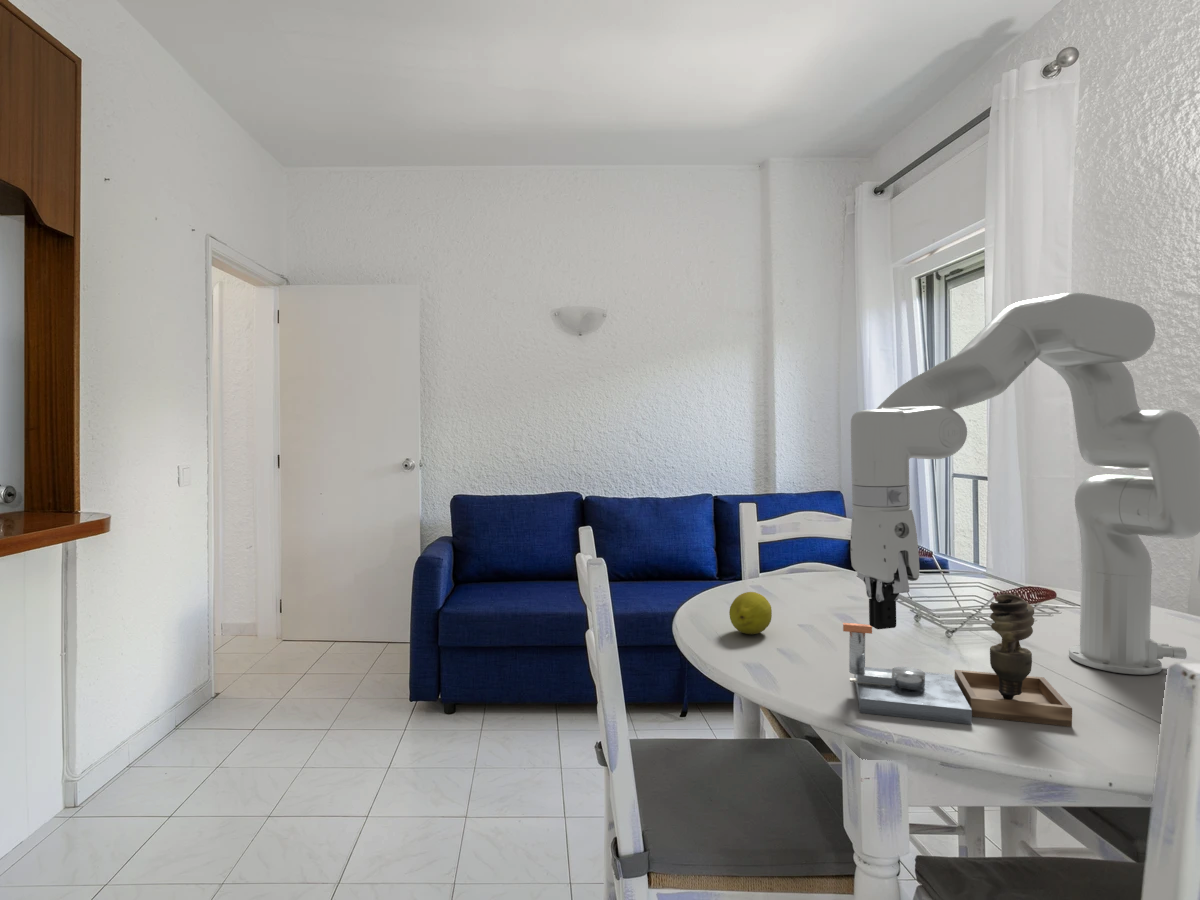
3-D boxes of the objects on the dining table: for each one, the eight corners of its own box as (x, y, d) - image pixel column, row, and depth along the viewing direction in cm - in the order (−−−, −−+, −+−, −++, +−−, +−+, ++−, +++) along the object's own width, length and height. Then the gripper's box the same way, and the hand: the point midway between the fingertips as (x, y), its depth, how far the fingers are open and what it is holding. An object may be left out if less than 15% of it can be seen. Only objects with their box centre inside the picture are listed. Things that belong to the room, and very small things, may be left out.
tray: (1043, 694, 104) (1043, 677, 104) (1071, 726, 93) (1072, 708, 93) (954, 685, 108) (954, 669, 108) (971, 716, 97) (971, 698, 96)
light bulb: (993, 688, 104) (994, 588, 104) (1036, 697, 101) (1037, 593, 101) (985, 700, 100) (986, 595, 100) (1029, 709, 97) (1031, 601, 96)
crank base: (952, 687, 107) (952, 673, 107) (971, 724, 94) (971, 708, 94) (847, 677, 112) (847, 664, 112) (852, 711, 98) (852, 696, 98)
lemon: (744, 624, 142) (744, 585, 142) (780, 631, 137) (780, 590, 137) (717, 637, 134) (717, 595, 134) (755, 644, 129) (755, 601, 129)
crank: (922, 680, 104) (923, 626, 104) (926, 691, 100) (927, 634, 99) (842, 672, 107) (842, 619, 107) (843, 682, 103) (843, 627, 103)
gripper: (939, 501, 92) (941, 640, 93) (874, 491, 107) (876, 611, 107) (887, 505, 90) (890, 645, 91) (828, 493, 105) (831, 615, 106)
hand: (882, 626), depth 99 cm, fingers closed
